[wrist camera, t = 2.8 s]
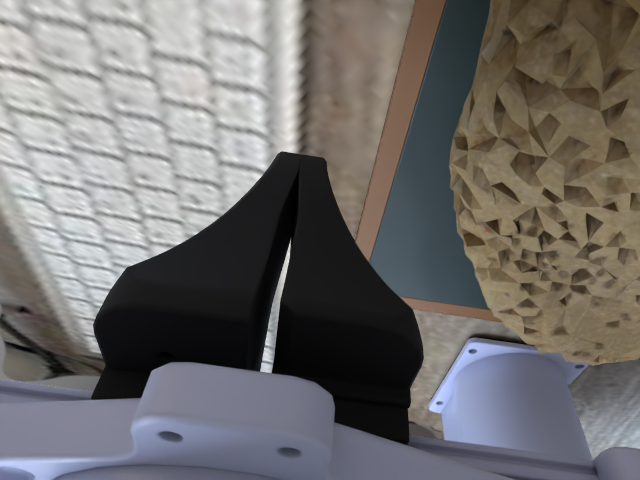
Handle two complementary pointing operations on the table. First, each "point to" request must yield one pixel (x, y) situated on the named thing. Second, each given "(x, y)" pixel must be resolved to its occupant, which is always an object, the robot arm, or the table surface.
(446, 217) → the chalkboard
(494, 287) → the sponge
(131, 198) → the table surface
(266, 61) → the table surface
